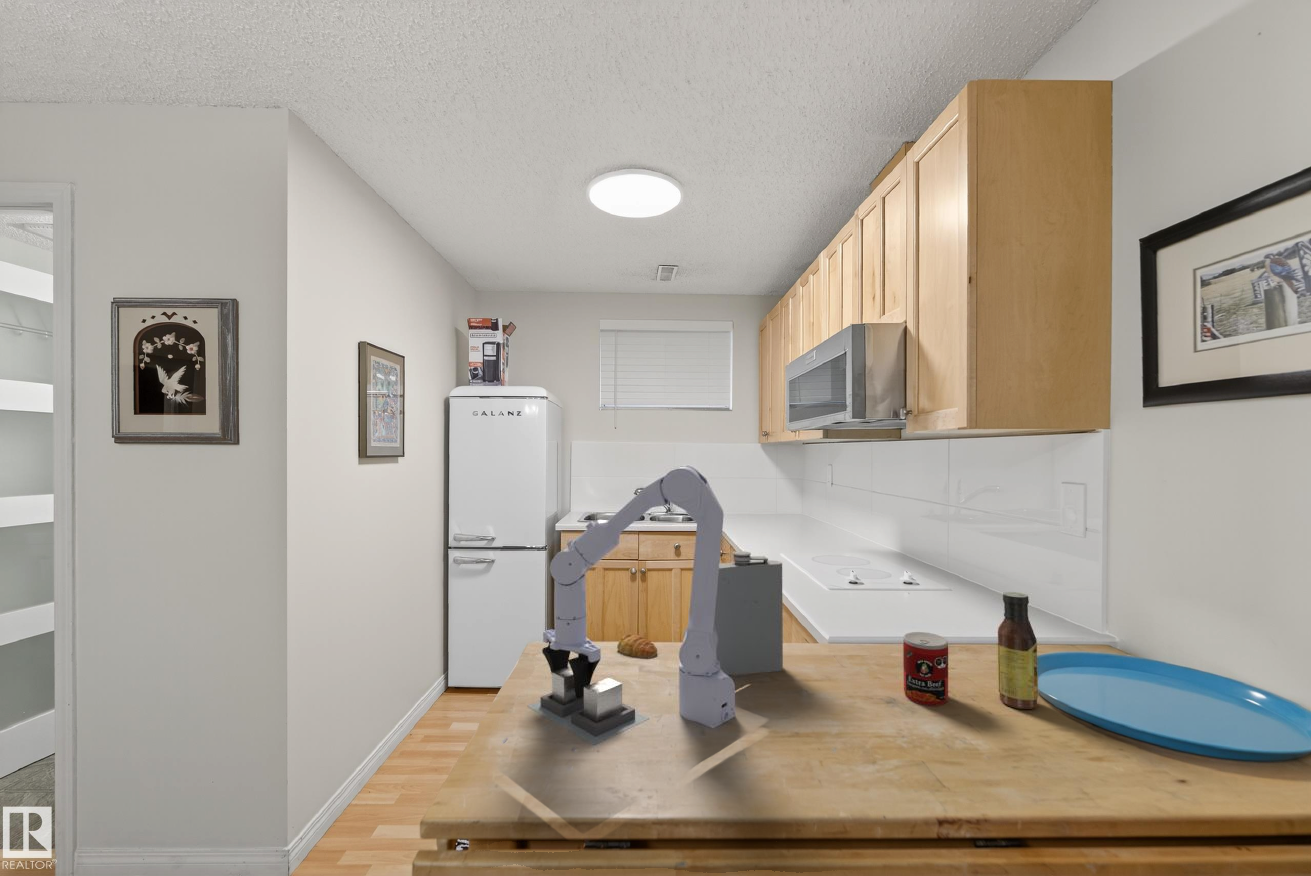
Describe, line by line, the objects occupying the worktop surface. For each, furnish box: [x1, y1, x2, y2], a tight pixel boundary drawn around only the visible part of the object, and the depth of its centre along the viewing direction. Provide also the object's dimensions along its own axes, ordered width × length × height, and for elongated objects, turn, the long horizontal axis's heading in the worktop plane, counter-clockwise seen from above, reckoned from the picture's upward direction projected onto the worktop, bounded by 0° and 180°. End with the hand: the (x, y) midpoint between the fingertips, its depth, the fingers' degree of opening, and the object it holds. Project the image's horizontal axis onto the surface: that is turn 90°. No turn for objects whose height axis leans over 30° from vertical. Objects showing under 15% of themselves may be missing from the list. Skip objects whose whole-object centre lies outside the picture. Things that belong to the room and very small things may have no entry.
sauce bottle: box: [996, 591, 1039, 710], centre depth 108 cm, size 7×6×20 cm
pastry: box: [616, 633, 658, 659], centre depth 134 cm, size 9×7×4 cm
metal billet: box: [551, 665, 584, 706], centre depth 106 cm, size 4×6×6 cm, turn 135°
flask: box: [714, 550, 784, 677], centre depth 124 cm, size 17×5×25 cm, turn 106°
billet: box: [584, 677, 623, 723], centre depth 100 cm, size 4×6×6 cm, turn 135°
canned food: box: [902, 631, 949, 706], centre depth 111 cm, size 8×8×11 cm
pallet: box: [527, 692, 650, 746], centre depth 103 cm, size 19×12×3 cm, turn 45°
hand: (571, 690), depth 106 cm, fingers open, 6 cm apart
